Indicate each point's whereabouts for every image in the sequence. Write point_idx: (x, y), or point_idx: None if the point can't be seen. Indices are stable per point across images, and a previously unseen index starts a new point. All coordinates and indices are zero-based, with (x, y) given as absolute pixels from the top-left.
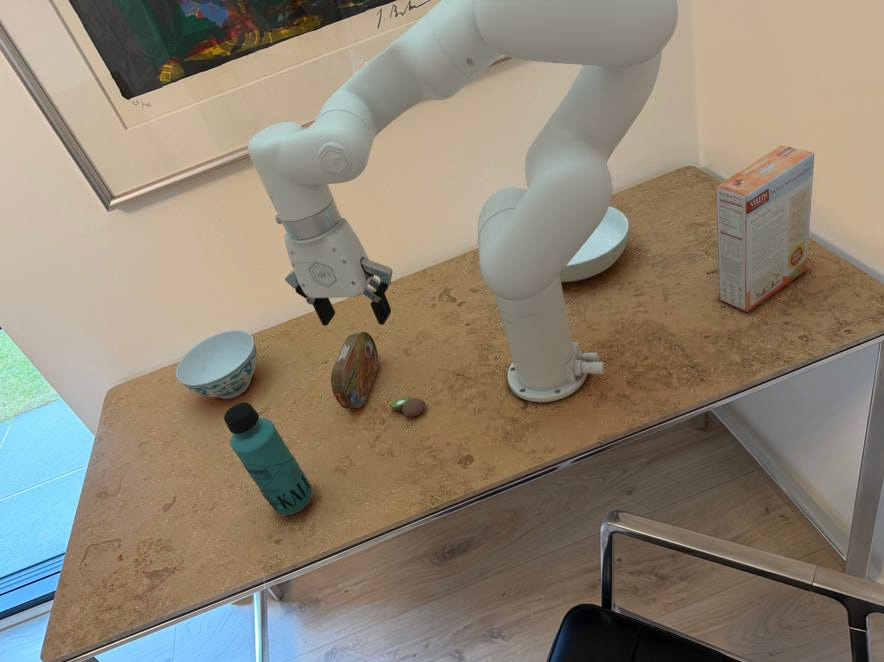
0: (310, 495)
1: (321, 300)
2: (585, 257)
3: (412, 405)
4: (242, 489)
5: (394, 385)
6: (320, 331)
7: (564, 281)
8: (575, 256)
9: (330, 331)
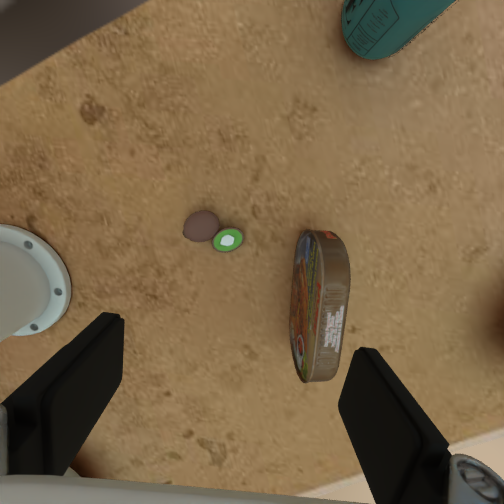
0: (342, 13)
1: (400, 475)
2: None
3: (195, 221)
4: (482, 73)
5: (254, 286)
6: None
7: None
8: None
9: None
